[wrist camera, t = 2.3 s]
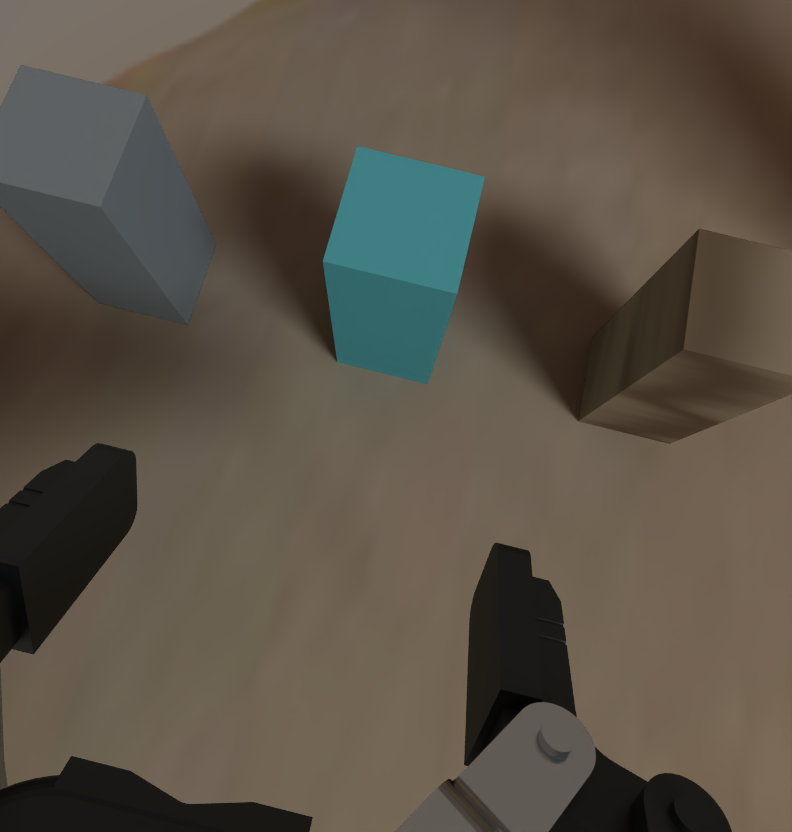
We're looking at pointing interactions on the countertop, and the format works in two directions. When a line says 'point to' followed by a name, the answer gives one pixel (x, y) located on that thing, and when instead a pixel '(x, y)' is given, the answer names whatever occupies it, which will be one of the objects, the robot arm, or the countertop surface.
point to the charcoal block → (103, 192)
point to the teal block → (397, 261)
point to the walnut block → (695, 342)
